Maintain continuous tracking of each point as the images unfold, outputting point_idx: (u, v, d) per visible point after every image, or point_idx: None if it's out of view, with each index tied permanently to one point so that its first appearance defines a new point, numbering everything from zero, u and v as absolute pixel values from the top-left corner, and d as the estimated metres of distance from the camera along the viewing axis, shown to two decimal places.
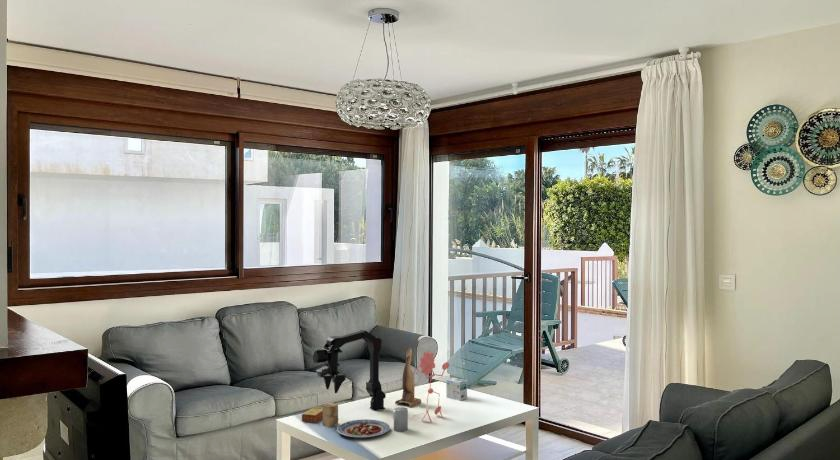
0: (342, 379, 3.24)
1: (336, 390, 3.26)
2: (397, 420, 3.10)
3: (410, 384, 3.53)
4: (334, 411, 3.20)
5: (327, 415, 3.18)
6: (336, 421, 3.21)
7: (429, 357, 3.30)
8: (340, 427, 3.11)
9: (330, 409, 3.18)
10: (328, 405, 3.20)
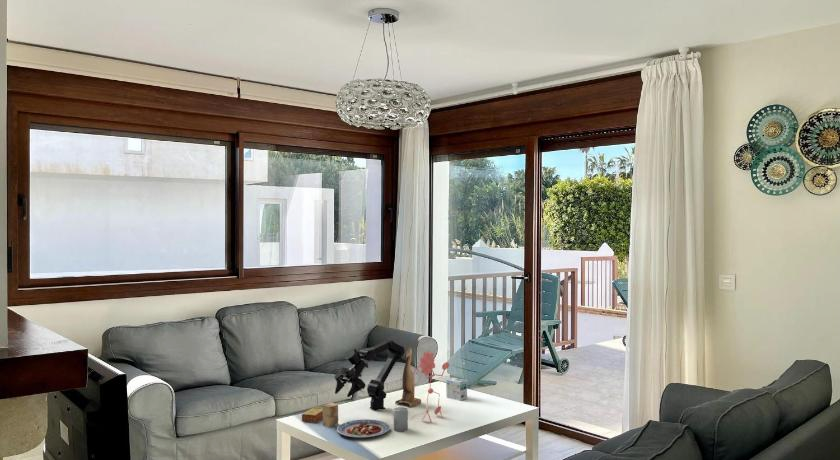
0: (362, 386, 3.25)
1: (350, 394, 3.24)
2: (397, 420, 3.10)
3: (410, 384, 3.53)
4: (334, 411, 3.20)
5: (327, 415, 3.18)
6: (336, 421, 3.21)
7: (429, 357, 3.30)
8: (340, 427, 3.11)
9: (330, 409, 3.18)
10: (328, 405, 3.20)
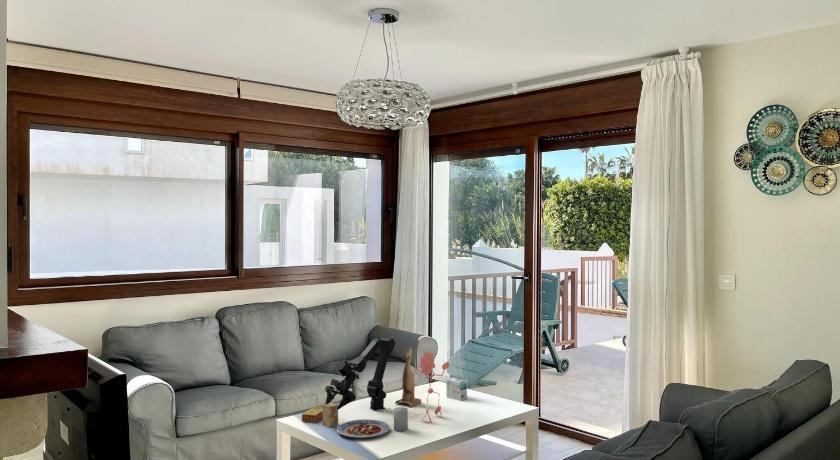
0: (353, 398, 3.20)
1: (340, 406, 3.19)
2: (397, 420, 3.10)
3: (410, 384, 3.53)
4: (334, 411, 3.20)
5: (327, 415, 3.18)
6: (336, 421, 3.21)
7: (429, 357, 3.30)
8: (340, 427, 3.11)
9: (330, 409, 3.18)
10: (328, 405, 3.20)
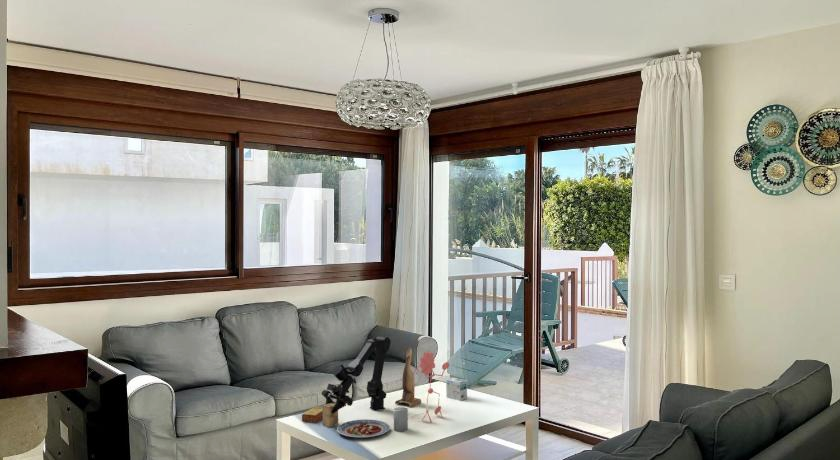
0: (350, 403, 3.19)
1: (334, 410, 3.19)
2: (397, 420, 3.10)
3: (410, 384, 3.53)
4: None
5: (327, 415, 3.18)
6: (336, 421, 3.21)
7: (429, 357, 3.30)
8: (340, 427, 3.11)
9: (330, 409, 3.18)
10: (328, 405, 3.20)
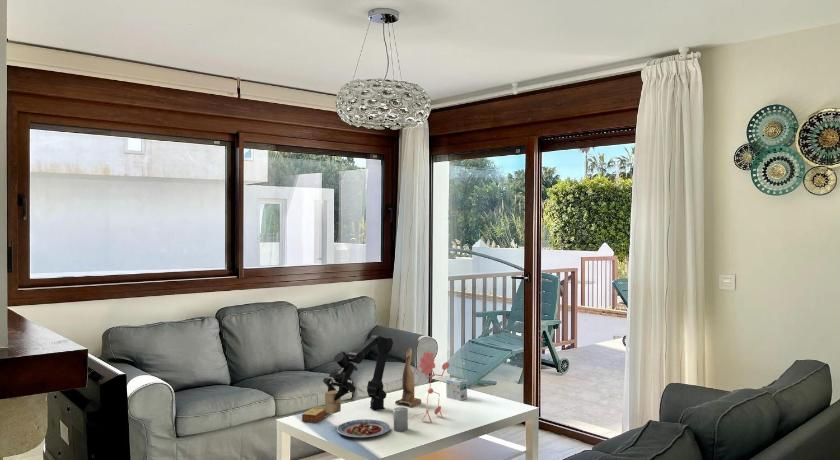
0: (352, 389, 3.18)
1: (337, 397, 3.17)
2: (397, 420, 3.10)
3: (410, 384, 3.53)
4: None
5: (330, 402, 3.17)
6: (339, 408, 3.20)
7: (429, 357, 3.30)
8: (340, 427, 3.11)
9: (333, 396, 3.17)
10: (330, 392, 3.19)
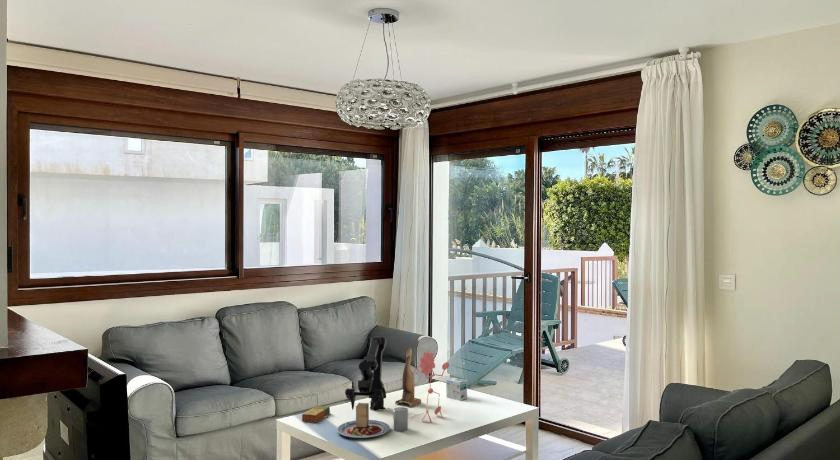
0: (382, 396, 3.15)
1: (372, 407, 3.11)
2: (397, 420, 3.10)
3: (410, 384, 3.53)
4: (367, 411, 3.12)
5: (363, 415, 3.09)
6: (368, 420, 3.14)
7: (429, 357, 3.30)
8: (340, 428, 3.11)
9: (366, 408, 3.10)
10: (361, 405, 3.11)
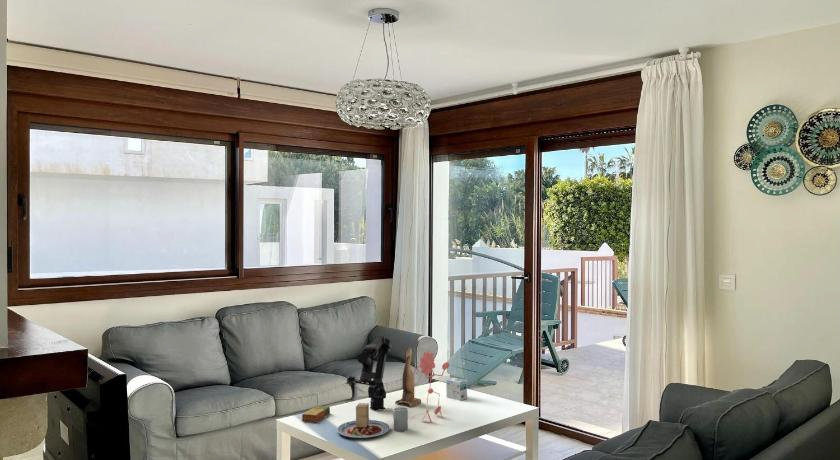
0: (382, 387, 3.28)
1: (372, 398, 3.24)
2: (397, 420, 3.10)
3: (410, 384, 3.53)
4: (367, 411, 3.12)
5: (363, 415, 3.09)
6: (368, 421, 3.13)
7: (429, 357, 3.30)
8: (340, 428, 3.11)
9: (366, 408, 3.09)
10: (361, 405, 3.10)
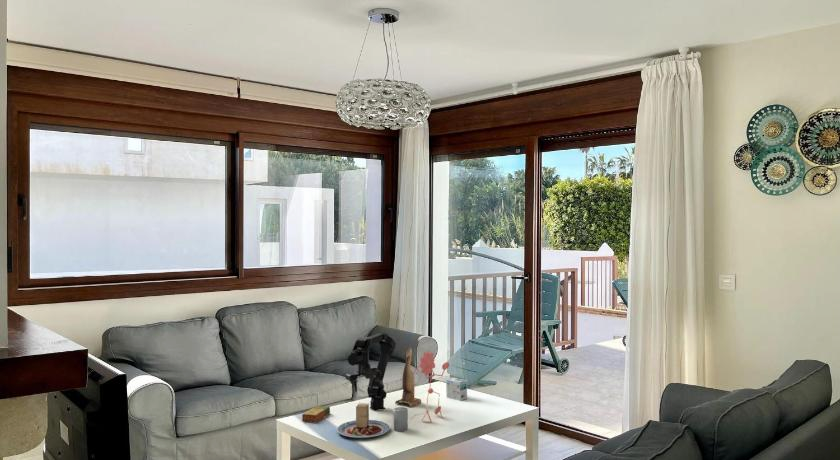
0: None
1: None
2: (397, 420, 3.10)
3: (410, 384, 3.53)
4: (367, 411, 3.12)
5: (363, 416, 3.08)
6: (368, 421, 3.13)
7: (429, 357, 3.30)
8: (340, 428, 3.11)
9: (366, 408, 3.09)
10: (361, 405, 3.10)
